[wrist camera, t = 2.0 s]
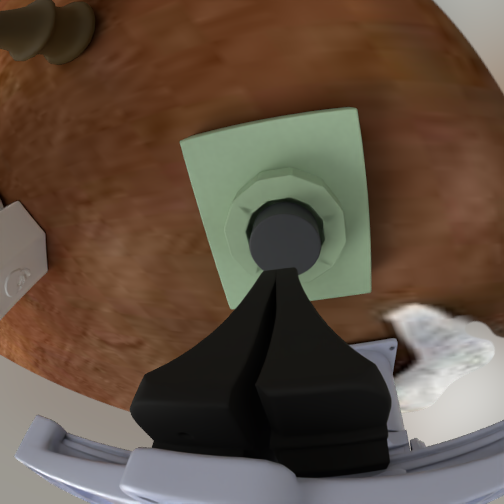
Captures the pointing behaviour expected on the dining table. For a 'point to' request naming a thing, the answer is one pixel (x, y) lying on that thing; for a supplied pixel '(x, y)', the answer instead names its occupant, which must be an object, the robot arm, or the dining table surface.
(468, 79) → the dining table surface
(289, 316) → the robot arm
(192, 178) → the green button box
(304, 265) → the push button
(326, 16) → the dining table surface
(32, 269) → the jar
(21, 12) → the kendama
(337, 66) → the dining table surface
